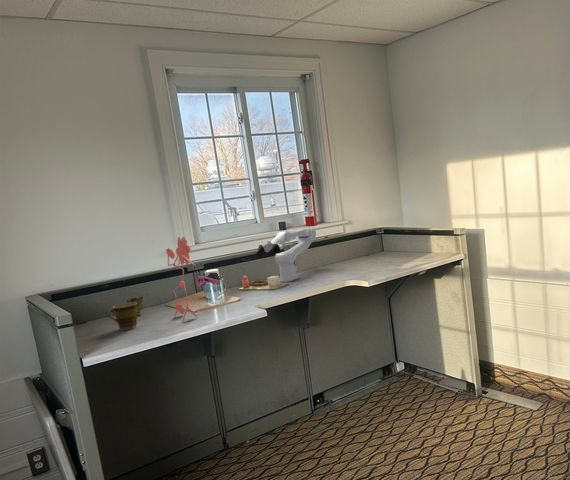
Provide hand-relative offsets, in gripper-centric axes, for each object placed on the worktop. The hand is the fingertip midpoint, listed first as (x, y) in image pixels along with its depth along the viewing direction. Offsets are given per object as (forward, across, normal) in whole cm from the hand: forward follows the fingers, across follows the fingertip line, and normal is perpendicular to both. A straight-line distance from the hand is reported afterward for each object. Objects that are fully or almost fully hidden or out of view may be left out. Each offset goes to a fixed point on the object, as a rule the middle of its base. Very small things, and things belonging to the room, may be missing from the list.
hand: (262, 254), depth 264 cm
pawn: (+6, -13, +16) cm, 21 cm away
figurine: (+58, -2, +2) cm, 58 cm away
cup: (+60, -35, 0) cm, 69 cm away
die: (0, +1, +18) cm, 18 cm away
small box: (+20, -23, +12) cm, 33 cm away
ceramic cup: (+79, -19, -5) cm, 82 cm away
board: (+2, -4, +18) cm, 18 cm away
